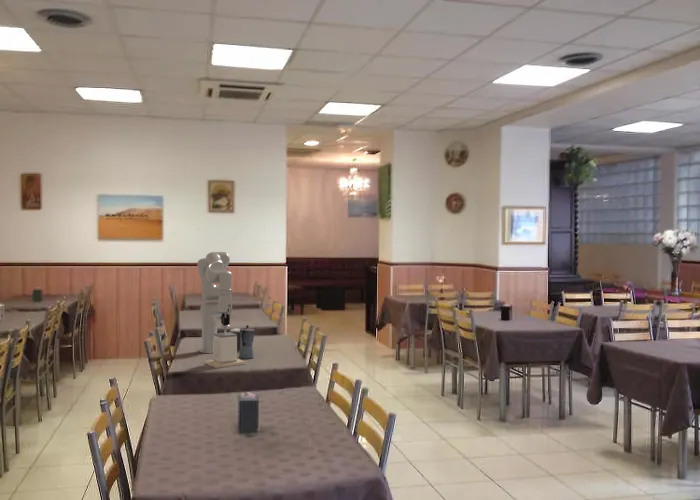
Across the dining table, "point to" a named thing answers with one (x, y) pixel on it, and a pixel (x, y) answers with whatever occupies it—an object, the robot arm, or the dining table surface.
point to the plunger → (224, 326)
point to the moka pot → (246, 343)
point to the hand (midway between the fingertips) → (225, 323)
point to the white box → (225, 351)
